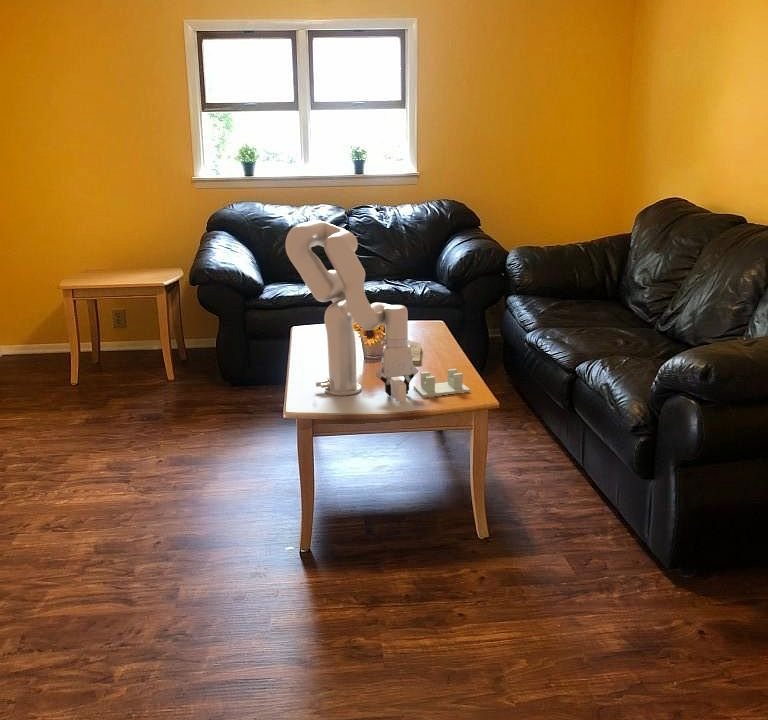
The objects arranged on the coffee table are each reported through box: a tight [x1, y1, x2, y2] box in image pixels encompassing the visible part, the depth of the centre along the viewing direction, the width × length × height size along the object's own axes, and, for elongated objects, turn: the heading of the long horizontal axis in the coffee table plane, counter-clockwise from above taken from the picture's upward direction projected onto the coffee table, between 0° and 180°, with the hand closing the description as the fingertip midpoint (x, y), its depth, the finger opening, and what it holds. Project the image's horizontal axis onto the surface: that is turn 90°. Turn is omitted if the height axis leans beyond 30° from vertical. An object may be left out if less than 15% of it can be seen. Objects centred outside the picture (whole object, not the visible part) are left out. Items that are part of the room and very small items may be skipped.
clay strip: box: [390, 376, 407, 403], centre depth 257 cm, size 12×2×6 cm, turn 17°
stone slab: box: [408, 339, 422, 366], centre depth 305 cm, size 12×4×30 cm
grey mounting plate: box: [412, 368, 471, 399], centre depth 261 cm, size 17×10×6 cm, turn 106°
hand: (397, 393), depth 258 cm, fingers open, 5 cm apart
